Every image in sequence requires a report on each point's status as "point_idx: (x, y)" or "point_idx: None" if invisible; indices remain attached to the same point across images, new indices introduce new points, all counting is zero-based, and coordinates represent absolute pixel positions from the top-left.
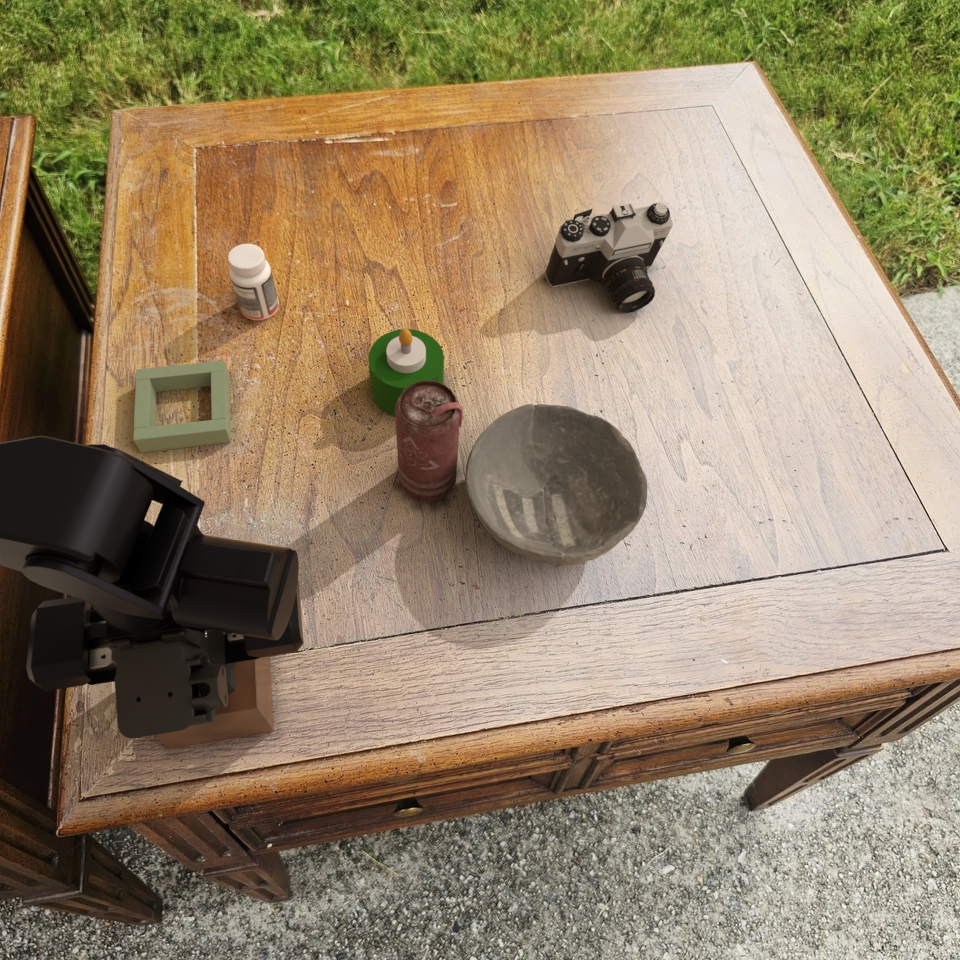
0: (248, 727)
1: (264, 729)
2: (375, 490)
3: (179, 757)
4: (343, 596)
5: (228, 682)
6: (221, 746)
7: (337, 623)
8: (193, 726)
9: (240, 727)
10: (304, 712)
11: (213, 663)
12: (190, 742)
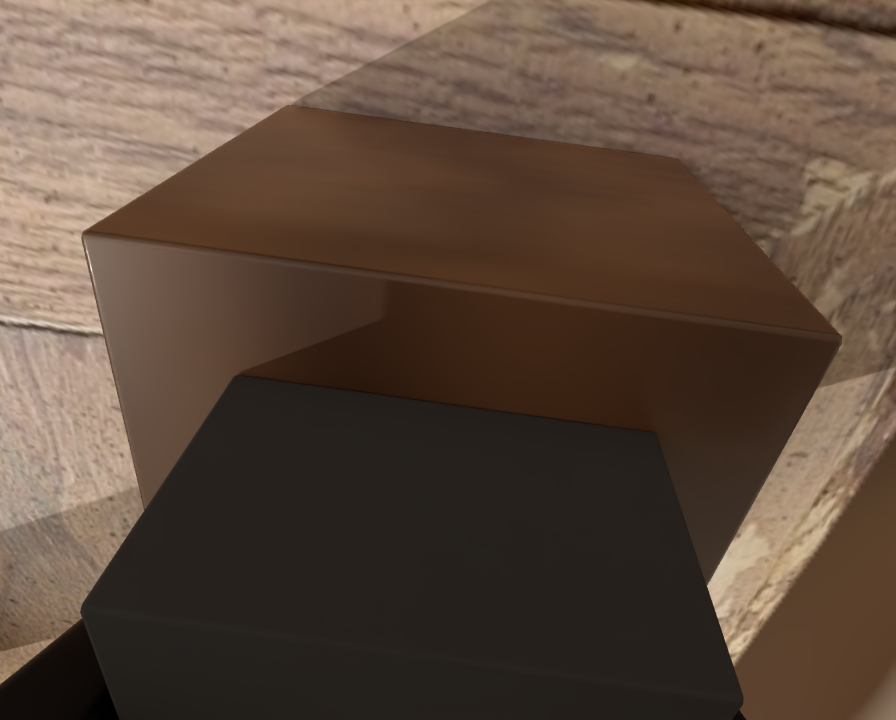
0: (332, 143)
1: (296, 118)
2: (38, 633)
3: (654, 113)
4: (82, 452)
5: (149, 508)
6: (490, 107)
7: (89, 391)
8: (542, 229)
9: (359, 153)
10: (173, 143)
11: (207, 706)
12: (596, 158)
